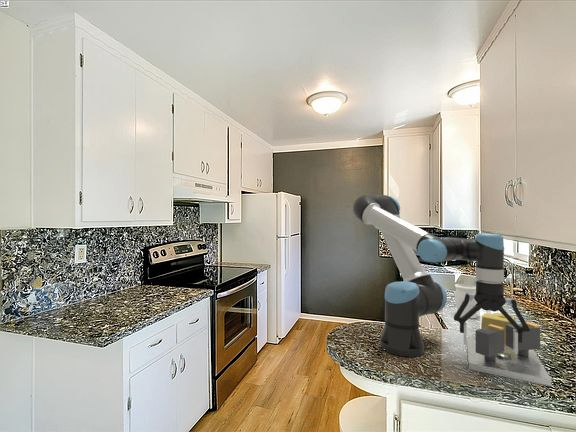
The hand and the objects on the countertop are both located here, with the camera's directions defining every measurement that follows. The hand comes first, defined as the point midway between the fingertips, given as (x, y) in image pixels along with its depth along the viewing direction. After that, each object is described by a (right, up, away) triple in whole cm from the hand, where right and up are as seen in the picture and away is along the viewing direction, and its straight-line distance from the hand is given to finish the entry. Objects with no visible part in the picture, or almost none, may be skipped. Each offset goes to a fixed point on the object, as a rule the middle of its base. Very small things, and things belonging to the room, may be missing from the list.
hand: (489, 347), depth 98 cm
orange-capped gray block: (+14, -4, +4) cm, 15 cm away
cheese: (+17, -7, +20) cm, 27 cm away
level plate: (+6, -6, +3) cm, 9 cm away
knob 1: (0, -4, 0) cm, 4 cm away
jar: (+24, -7, +52) cm, 57 cm away
